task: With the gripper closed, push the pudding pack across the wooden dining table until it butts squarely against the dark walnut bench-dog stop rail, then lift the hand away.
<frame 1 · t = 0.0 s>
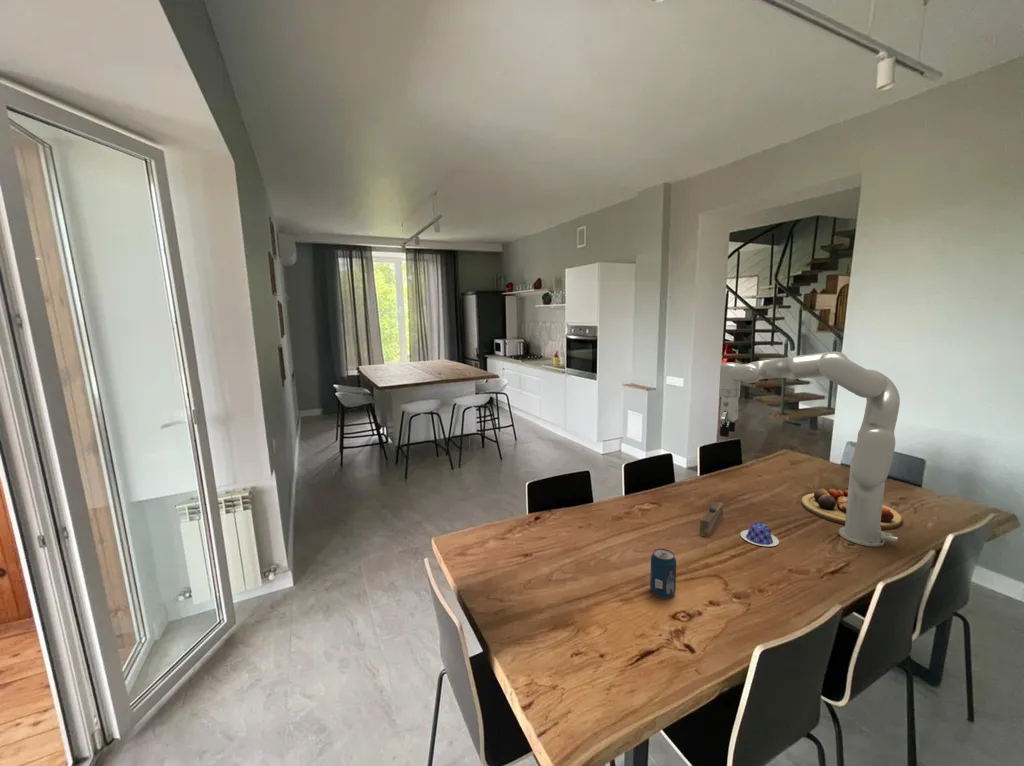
hand: (727, 433, 175), 31 cm above the table, fingers open, 9 cm apart
wooden plate with food: (848, 513, 172), on the table
soda can: (662, 592, 124), on the table
stop rail: (711, 525, 162), on the table
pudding: (759, 540, 152), on the table
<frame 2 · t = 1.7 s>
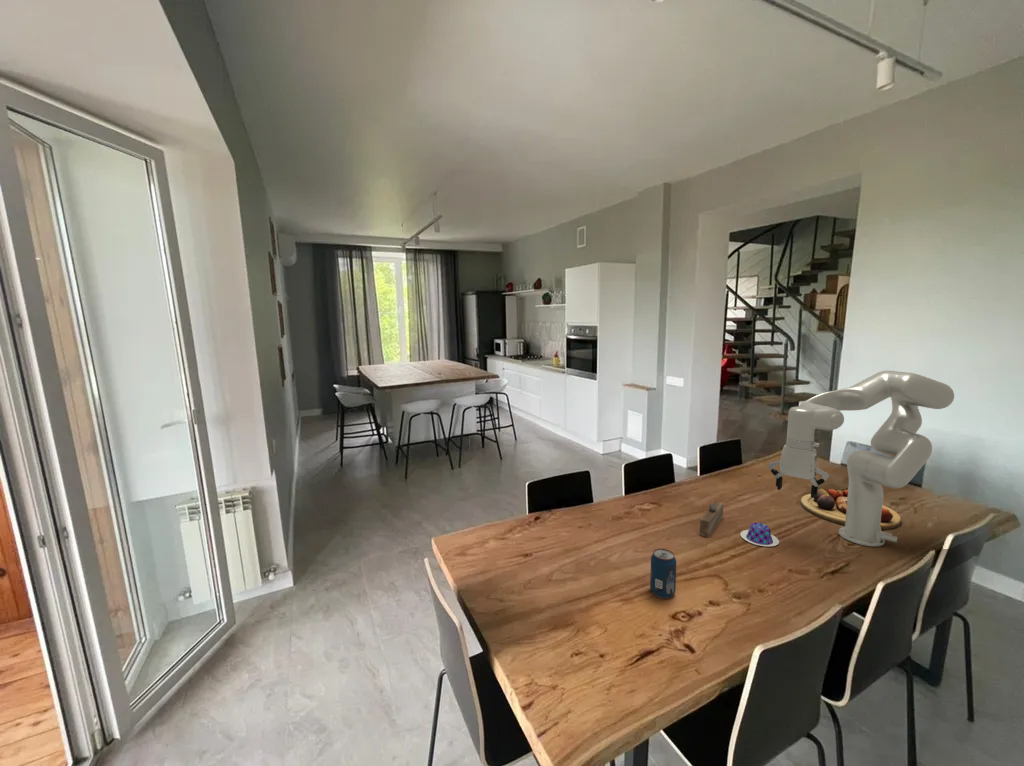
hand: (795, 492, 145), 19 cm above the table, fingers open, 9 cm apart
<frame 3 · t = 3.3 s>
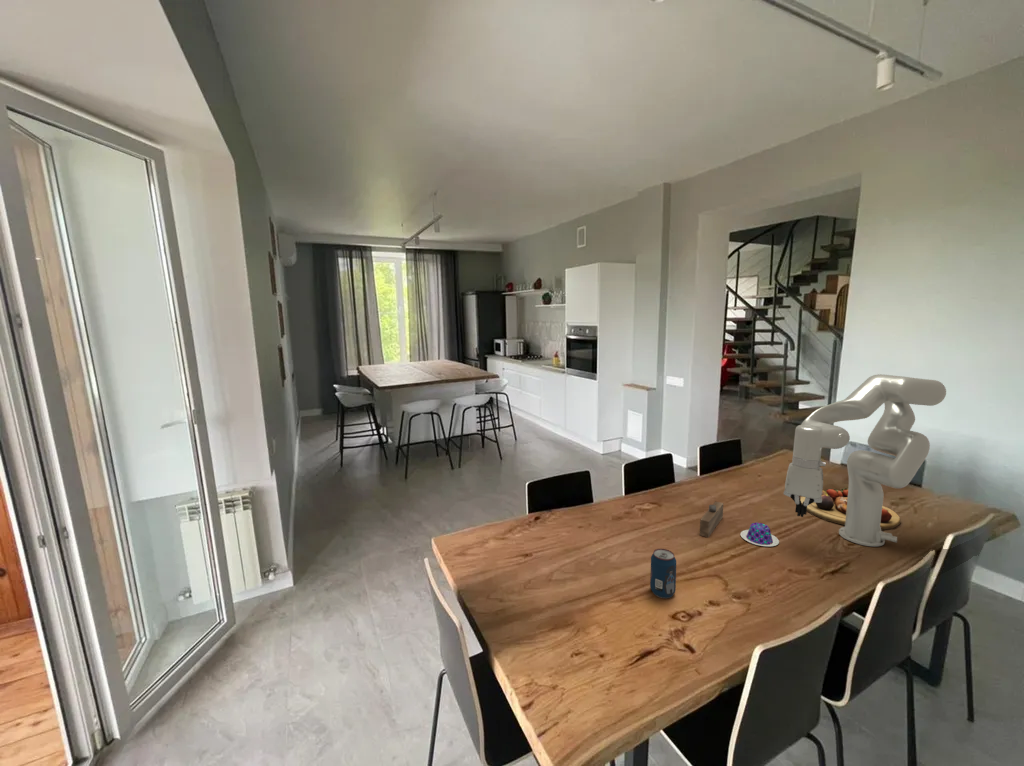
hand: (800, 515, 143), 12 cm above the table, fingers closed
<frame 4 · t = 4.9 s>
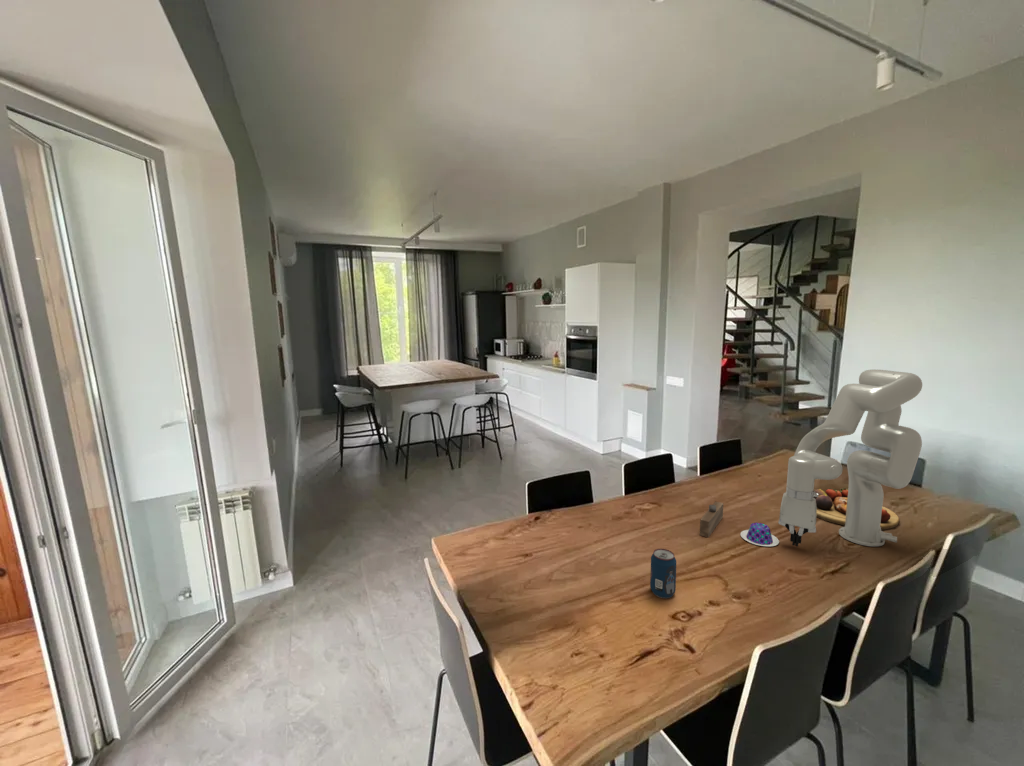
hand: (795, 544, 145), 2 cm above the table, fingers closed
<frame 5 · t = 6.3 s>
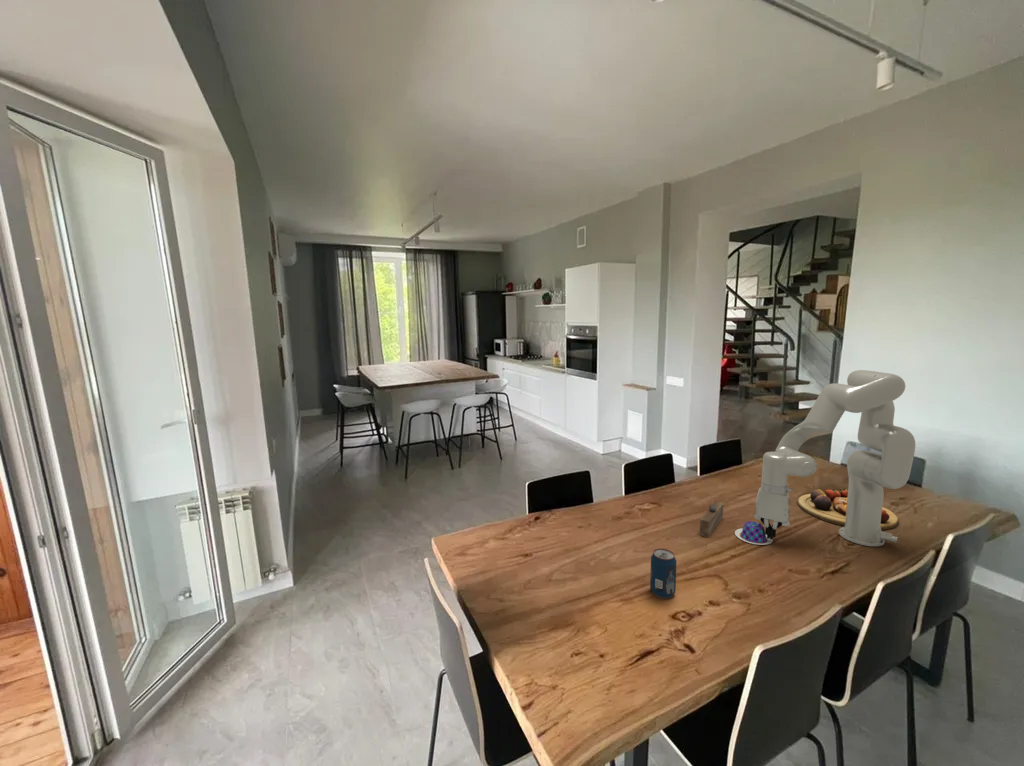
hand: (770, 537, 150), 2 cm above the table, fingers closed
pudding: (753, 538, 154), on the table, touching gripper
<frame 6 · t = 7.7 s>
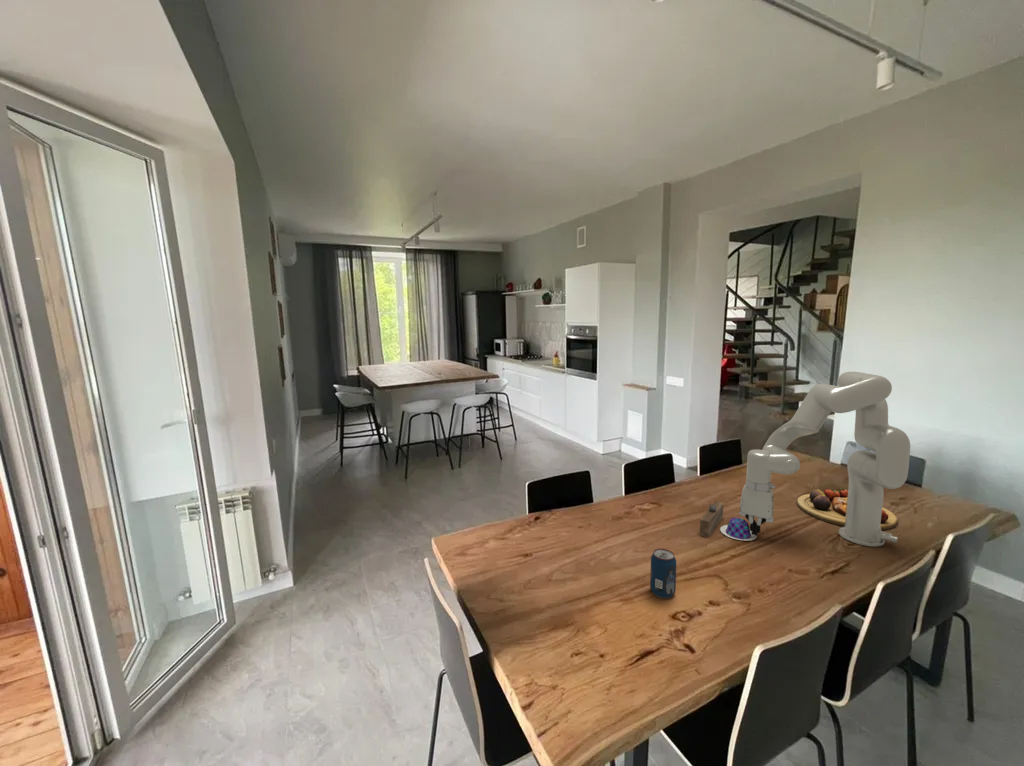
hand: (754, 533, 153), 2 cm above the table, fingers closed
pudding: (738, 534, 156), on the table
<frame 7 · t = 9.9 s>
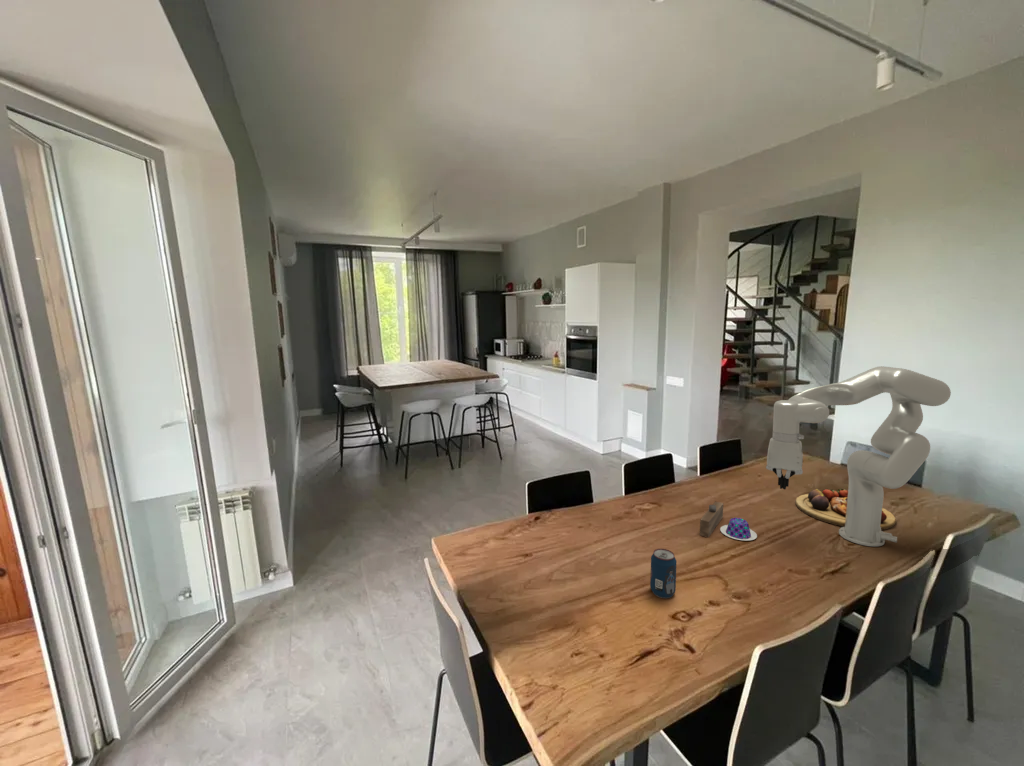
hand: (783, 487, 148), 20 cm above the table, fingers closed
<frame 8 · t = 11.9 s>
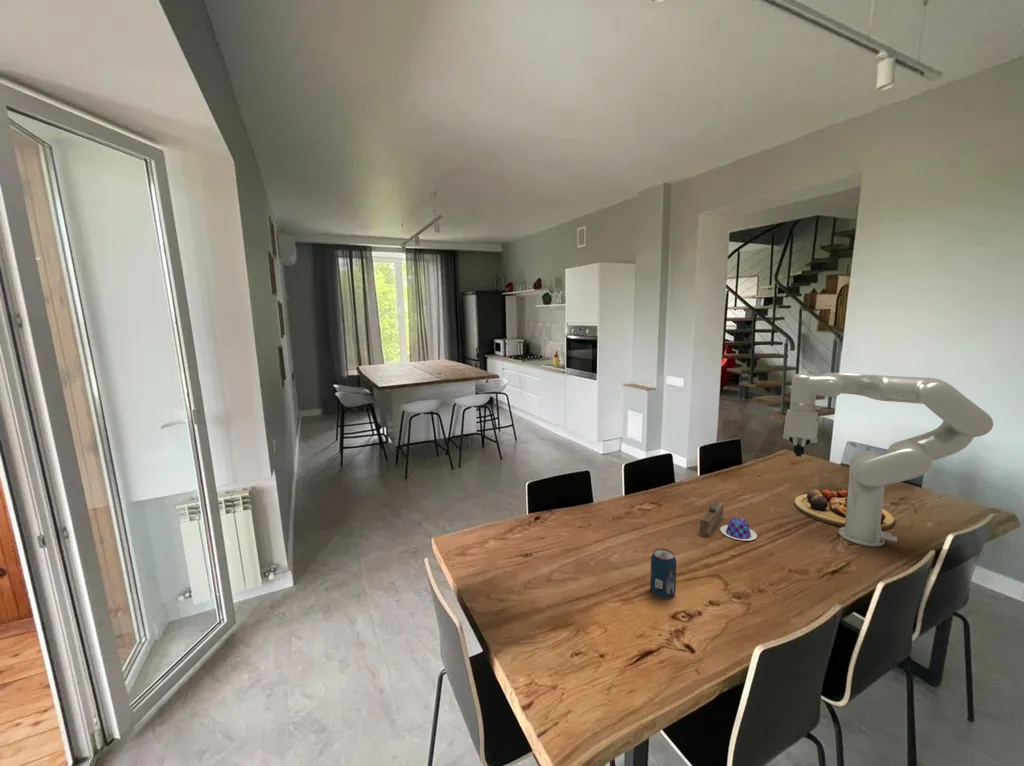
hand: (798, 455, 159), 27 cm above the table, fingers closed
at the end: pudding inside the target area (0.9 cm from its centre), on the table; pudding moved 6.8 cm from its start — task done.
